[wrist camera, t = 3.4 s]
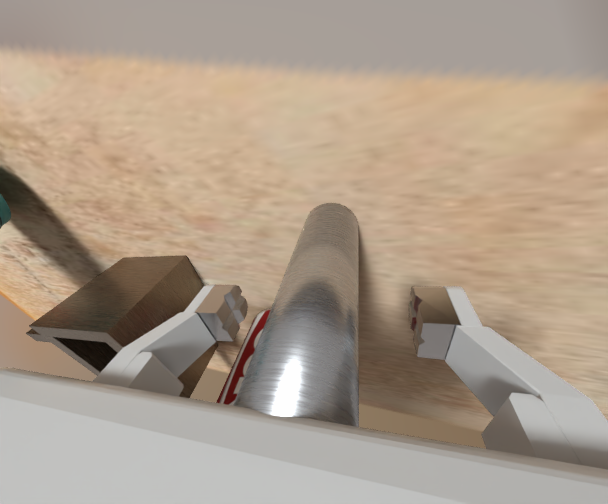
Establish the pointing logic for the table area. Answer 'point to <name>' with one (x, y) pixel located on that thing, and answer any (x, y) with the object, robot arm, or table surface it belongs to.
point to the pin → (312, 328)
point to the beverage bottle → (4, 211)
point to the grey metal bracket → (123, 312)
